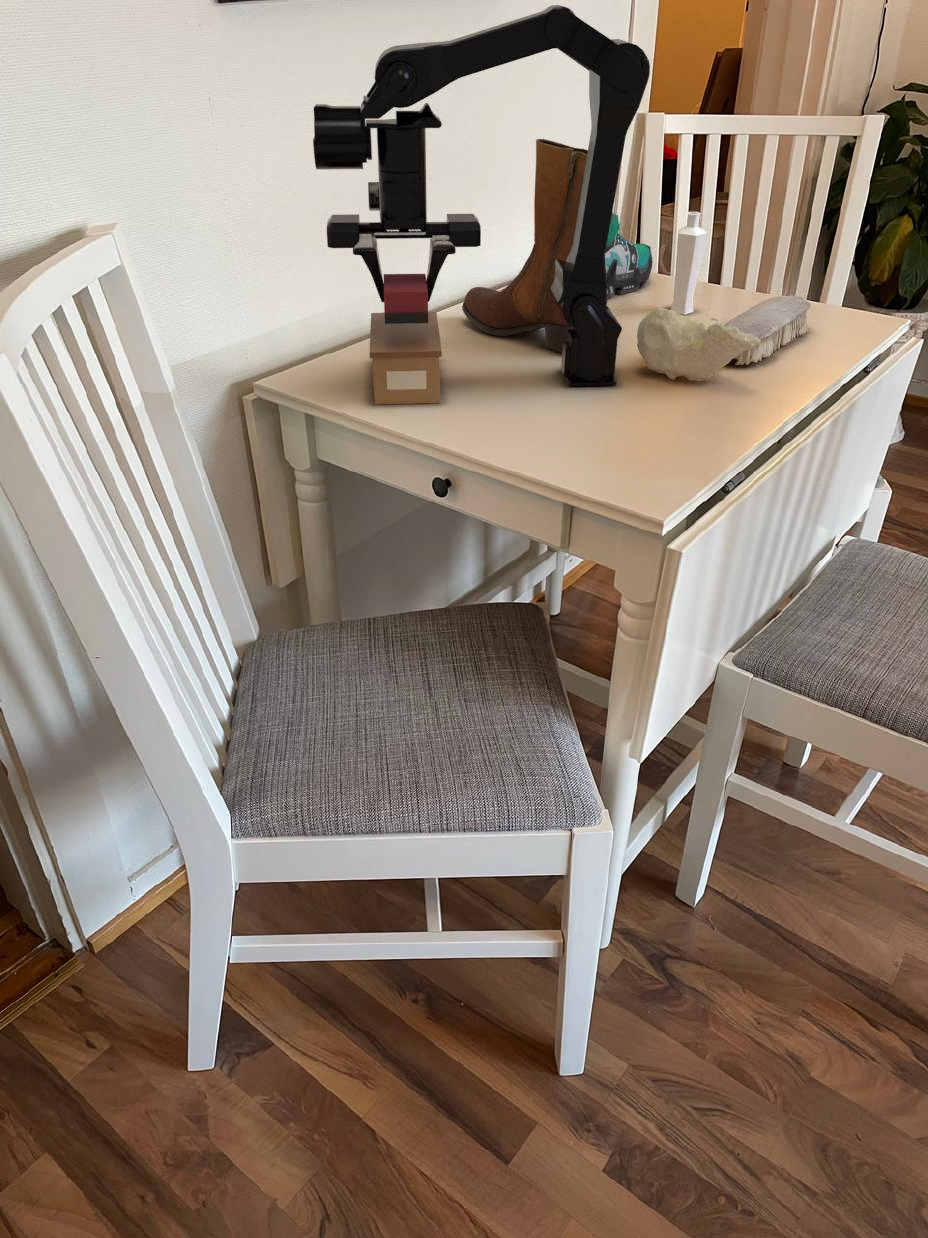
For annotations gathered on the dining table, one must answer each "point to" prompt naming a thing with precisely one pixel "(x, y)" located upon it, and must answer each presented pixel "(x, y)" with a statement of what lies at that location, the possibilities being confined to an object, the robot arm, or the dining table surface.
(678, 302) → the perfume bottle
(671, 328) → the beige lumpy irregular piece
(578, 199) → the boot
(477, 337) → the dining table surface
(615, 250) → the sneaker
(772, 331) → the shoe brush
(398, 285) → the dark red two-tone block
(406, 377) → the shoebox
